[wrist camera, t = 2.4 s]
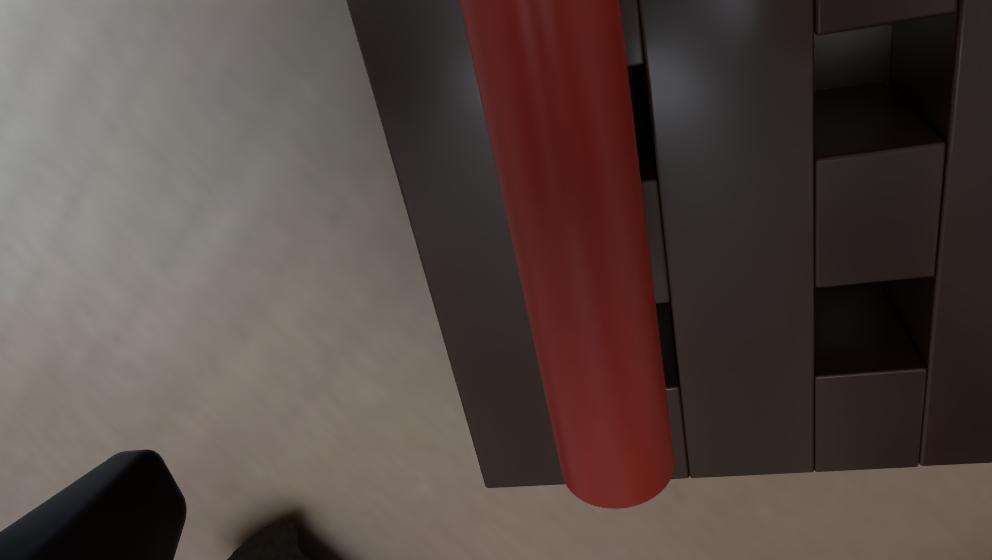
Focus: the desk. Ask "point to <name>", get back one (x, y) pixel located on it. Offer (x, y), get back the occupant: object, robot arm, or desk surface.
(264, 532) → the hand tool
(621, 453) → the T-handle
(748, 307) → the block
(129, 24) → the desk surface
